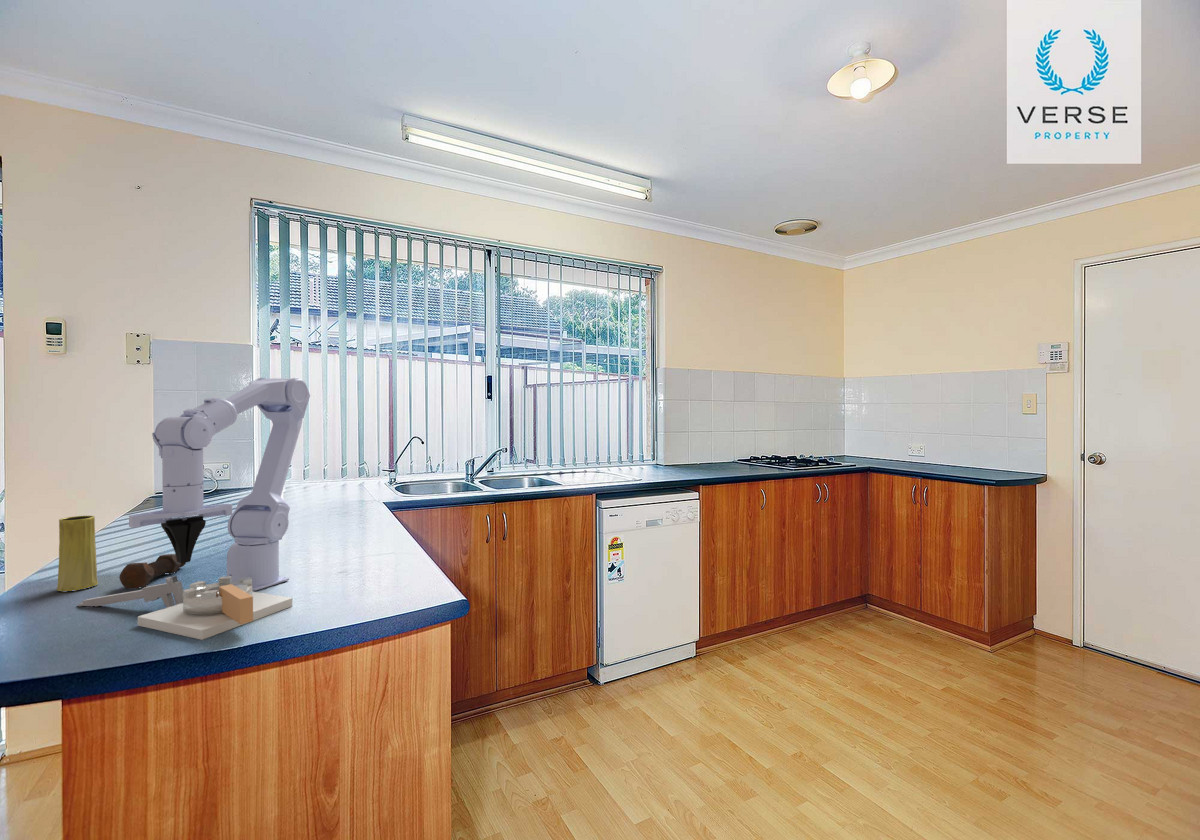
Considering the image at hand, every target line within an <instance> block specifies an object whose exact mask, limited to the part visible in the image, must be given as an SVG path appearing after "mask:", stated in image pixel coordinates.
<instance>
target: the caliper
mask: <svg viewBox="0 0 1200 840" xmlns="http://www.w3.org/2000/svg"><path fill="white" fill-rule="evenodd" d="M183 590H184V587H183V584H182V581H181V580H179V579H178V576H177V575H173V576H167V577H165V583H160V584H159V583H158V584H155V585H148V586H146V587H144V588H141V589H139V590H132V591H126V592H121V593H115V594H109V595H102V596H98V597H92V598H87V599H84V600H82V602H81V603H77V605H78V606H79V607H83V606H95V607H101V606H106V605H110V604H111V605H113V604H119V603H123V602H129V601H135V600H141V599H143V600H144V603H148V602H154V601H157V600H159V599H161V600H162V603H163V604H164V606H165V608H168V607H171V606H174V605H178V604H181V603H183Z"/></svg>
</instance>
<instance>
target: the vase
mask: <svg viewBox="0 0 1200 840" xmlns="http://www.w3.org/2000/svg"><path fill="white" fill-rule="evenodd" d="M95 519H96V518H95V516H94V515H78V516H76V515H75V516H68V517H63V518H60V519H58V526H59V527H58V533H59V536H58V537H59V538H58V540H59V541H58V542H59V543H58V544H59V545H58V570H57V572H58V573H57V586H56V591H57V590H58V591H72V590H79V589H84V588H88V587H92V586H95V585H97V584H98V585H99V580H98V566H97V563H98V562H97V546H96V544H97V543H96V527H95V526H96V524H95V523H96V522H95V521H96V520H95ZM95 587H96V586H95ZM92 588H93V587H92ZM58 591H57V592H58Z"/></svg>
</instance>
